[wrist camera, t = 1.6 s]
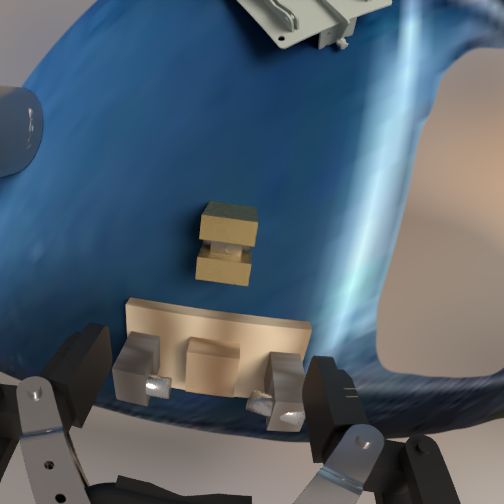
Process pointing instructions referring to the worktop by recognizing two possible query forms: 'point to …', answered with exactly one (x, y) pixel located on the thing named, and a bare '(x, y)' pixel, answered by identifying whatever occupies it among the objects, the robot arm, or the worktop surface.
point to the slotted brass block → (226, 243)
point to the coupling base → (218, 329)
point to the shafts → (256, 403)
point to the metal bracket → (310, 18)
